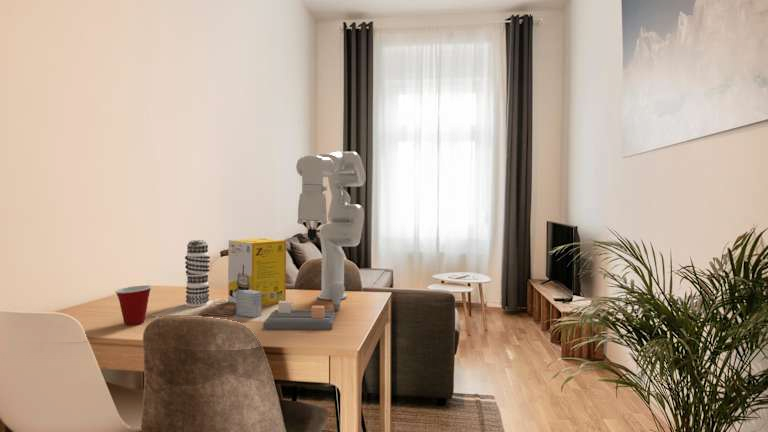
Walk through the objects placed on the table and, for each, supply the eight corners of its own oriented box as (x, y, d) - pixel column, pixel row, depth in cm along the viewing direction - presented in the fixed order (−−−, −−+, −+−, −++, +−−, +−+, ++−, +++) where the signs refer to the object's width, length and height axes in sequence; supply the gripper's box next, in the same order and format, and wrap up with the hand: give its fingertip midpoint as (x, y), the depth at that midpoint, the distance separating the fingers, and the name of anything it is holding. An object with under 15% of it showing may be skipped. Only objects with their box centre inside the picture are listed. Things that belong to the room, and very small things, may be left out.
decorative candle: (189, 308, 174) (189, 242, 173) (181, 303, 181) (181, 240, 180) (213, 304, 180) (213, 241, 179) (204, 300, 187) (205, 239, 186)
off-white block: (279, 312, 160) (279, 300, 160) (291, 312, 160) (291, 300, 160) (278, 314, 157) (278, 302, 157) (290, 314, 157) (290, 302, 157)
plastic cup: (127, 318, 158) (127, 283, 157) (158, 319, 157) (158, 284, 157) (107, 327, 147) (107, 290, 146) (140, 328, 146) (140, 290, 146)
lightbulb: (341, 312, 171) (342, 283, 170) (326, 311, 172) (326, 282, 171) (346, 308, 177) (346, 280, 176) (331, 307, 178) (331, 279, 177)
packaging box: (228, 301, 186) (228, 240, 185) (262, 295, 198) (262, 238, 197) (251, 308, 175) (251, 243, 174) (285, 301, 187) (286, 240, 187)
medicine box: (261, 315, 165) (261, 291, 165) (253, 318, 161) (253, 293, 161) (244, 312, 168) (244, 289, 168) (235, 315, 164) (235, 291, 164)
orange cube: (312, 317, 154) (312, 305, 154) (324, 317, 154) (324, 305, 154) (311, 319, 151) (311, 307, 151) (323, 319, 151) (323, 307, 151)
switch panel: (272, 317, 163) (272, 308, 163) (334, 317, 164) (334, 308, 164) (263, 329, 148) (263, 319, 148) (332, 329, 149) (332, 320, 149)
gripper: (333, 190, 171) (333, 239, 172) (293, 189, 170) (292, 238, 171) (332, 190, 164) (331, 241, 164) (290, 189, 163) (289, 240, 164)
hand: (311, 239), depth 168 cm, fingers closed
